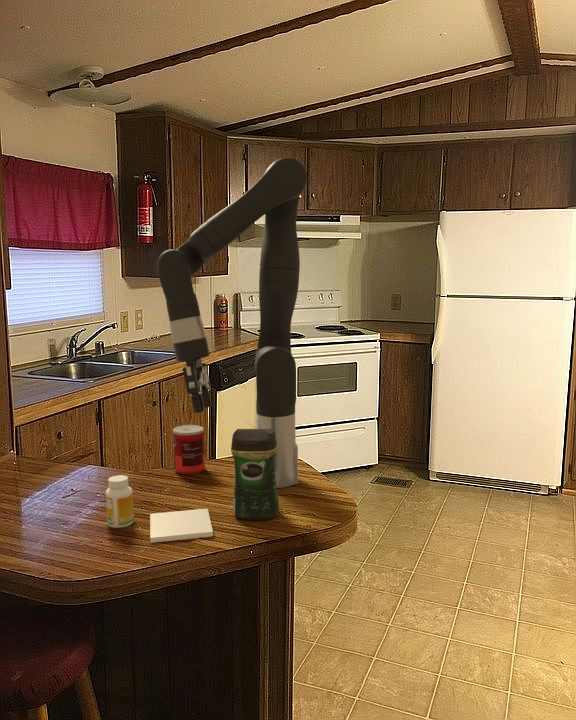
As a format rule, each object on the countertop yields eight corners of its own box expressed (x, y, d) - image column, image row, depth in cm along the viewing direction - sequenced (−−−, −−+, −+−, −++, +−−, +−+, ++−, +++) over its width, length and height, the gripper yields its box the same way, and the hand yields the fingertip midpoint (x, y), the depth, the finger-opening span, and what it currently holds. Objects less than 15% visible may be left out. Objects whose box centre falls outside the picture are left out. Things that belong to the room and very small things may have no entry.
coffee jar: (280, 507, 143) (279, 424, 140) (276, 522, 136) (274, 434, 133) (236, 506, 144) (234, 424, 141) (230, 521, 137) (227, 434, 134)
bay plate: (207, 512, 141) (207, 508, 141) (213, 536, 129) (212, 531, 129) (150, 518, 139) (150, 513, 138) (150, 542, 127) (150, 537, 127)
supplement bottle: (137, 518, 139) (135, 474, 137) (129, 529, 133) (126, 483, 132) (112, 517, 139) (110, 473, 138) (103, 528, 134) (100, 482, 132)
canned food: (187, 463, 174) (185, 423, 172) (211, 468, 170) (210, 427, 168) (168, 472, 167) (166, 430, 166) (192, 477, 163) (190, 434, 161)
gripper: (199, 336, 140) (214, 410, 141) (211, 335, 155) (225, 402, 155) (165, 343, 141) (180, 417, 142) (180, 341, 155) (194, 408, 156)
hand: (203, 409), depth 149 cm, fingers open, 8 cm apart
